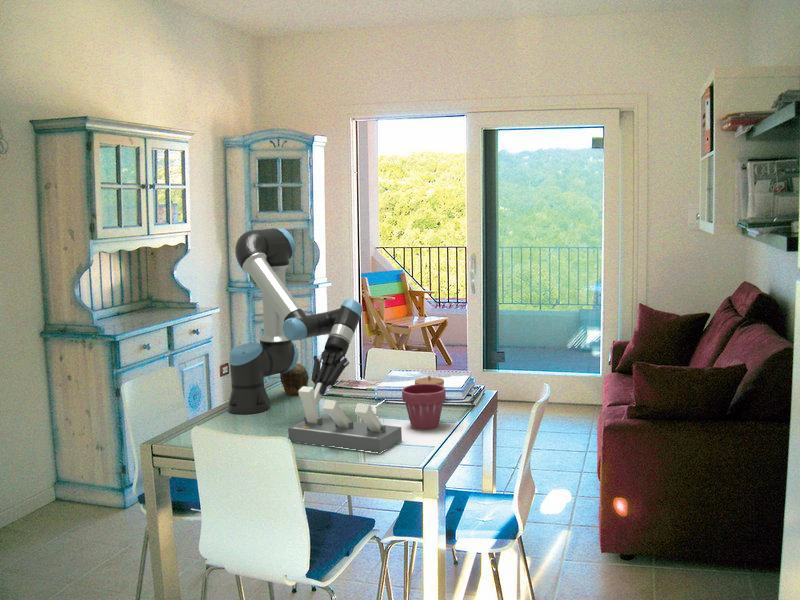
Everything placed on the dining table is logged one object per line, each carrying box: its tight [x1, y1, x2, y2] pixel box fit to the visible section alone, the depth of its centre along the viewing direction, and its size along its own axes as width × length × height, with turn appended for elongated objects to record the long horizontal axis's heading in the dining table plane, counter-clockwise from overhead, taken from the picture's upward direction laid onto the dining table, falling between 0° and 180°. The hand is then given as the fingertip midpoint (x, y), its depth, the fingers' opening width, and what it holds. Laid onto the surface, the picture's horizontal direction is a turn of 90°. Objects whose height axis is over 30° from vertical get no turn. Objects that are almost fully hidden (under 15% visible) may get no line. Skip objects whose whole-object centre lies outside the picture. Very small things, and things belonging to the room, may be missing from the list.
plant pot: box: [401, 384, 447, 431], centre depth 284 cm, size 14×14×13 cm
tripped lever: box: [298, 386, 321, 424], centre depth 274 cm, size 3×4×12 cm
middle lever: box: [321, 399, 351, 427], centre depth 267 cm, size 3×4×12 cm
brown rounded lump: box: [279, 362, 310, 397], centre depth 334 cm, size 11×11×12 cm
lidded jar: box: [414, 375, 445, 387], centre depth 316 cm, size 11×11×9 cm
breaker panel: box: [287, 416, 403, 454], centre depth 271 cm, size 14×33×7 cm, turn 62°
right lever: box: [354, 402, 383, 431], centre depth 261 cm, size 3×4×12 cm
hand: (314, 402), depth 275 cm, fingers closed
